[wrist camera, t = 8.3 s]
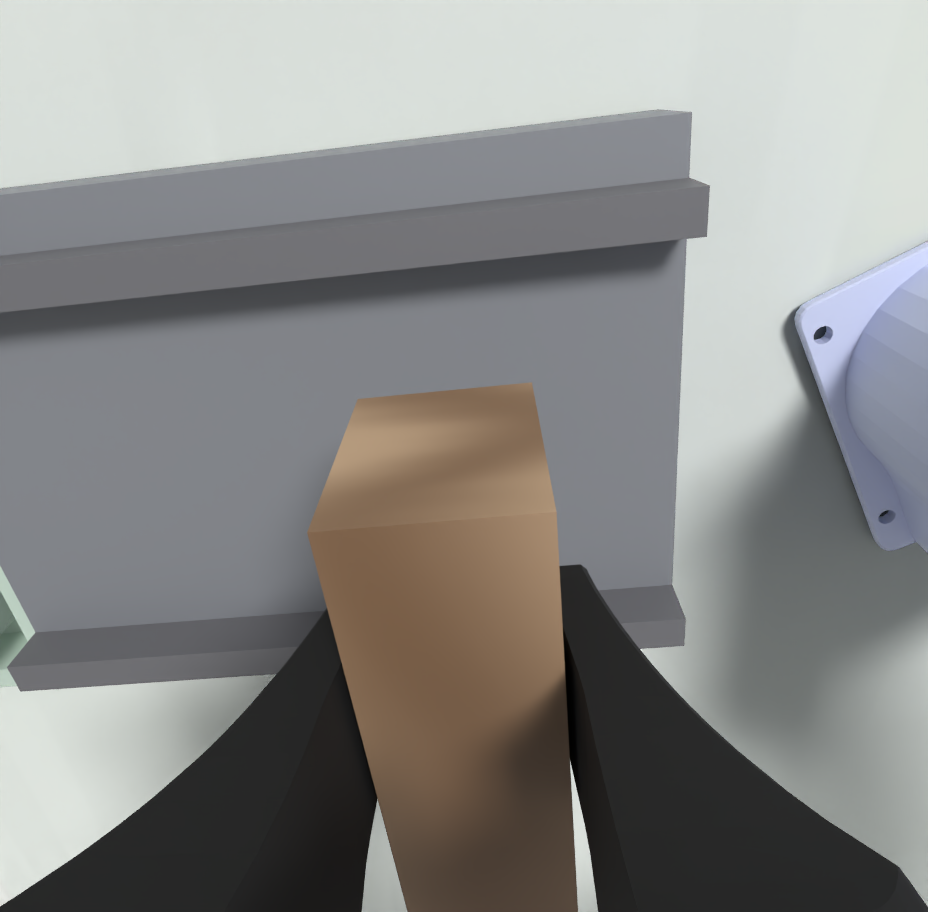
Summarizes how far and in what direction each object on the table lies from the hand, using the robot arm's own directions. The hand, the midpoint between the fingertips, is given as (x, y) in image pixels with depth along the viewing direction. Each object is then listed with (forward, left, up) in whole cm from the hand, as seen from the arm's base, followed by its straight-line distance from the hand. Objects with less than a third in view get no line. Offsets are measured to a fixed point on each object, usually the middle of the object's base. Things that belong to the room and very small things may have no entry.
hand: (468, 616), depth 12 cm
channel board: (+2, +4, -10) cm, 11 cm away
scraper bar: (-1, 0, -1) cm, 1 cm away
